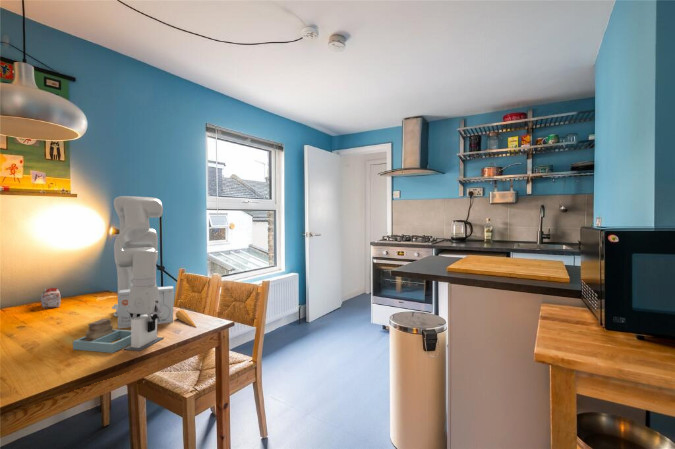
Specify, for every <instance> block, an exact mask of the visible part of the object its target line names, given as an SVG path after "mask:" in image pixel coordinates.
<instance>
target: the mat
mask: <svg viewBox="0 0 675 449" xmlns="http://www.w3.org/2000/svg"><path fill="white" fill-rule="evenodd" d="M161 340H164V337H162V336H157V339H155V340H153V341H151V342H149V343H147V344H146V345H144V346H142V347H140V348H135V347H131V344H130V345H128V346H126V347H124V348H123V350H126V351H133V352H134V351H137V352H141V351H143V350H145V349H147V348H149V347H151V346H153V345H154V344H156V343H158V342H161Z"/></svg>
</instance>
